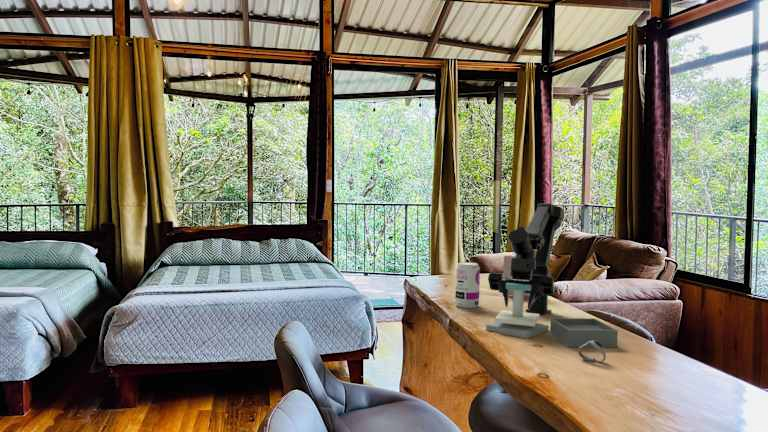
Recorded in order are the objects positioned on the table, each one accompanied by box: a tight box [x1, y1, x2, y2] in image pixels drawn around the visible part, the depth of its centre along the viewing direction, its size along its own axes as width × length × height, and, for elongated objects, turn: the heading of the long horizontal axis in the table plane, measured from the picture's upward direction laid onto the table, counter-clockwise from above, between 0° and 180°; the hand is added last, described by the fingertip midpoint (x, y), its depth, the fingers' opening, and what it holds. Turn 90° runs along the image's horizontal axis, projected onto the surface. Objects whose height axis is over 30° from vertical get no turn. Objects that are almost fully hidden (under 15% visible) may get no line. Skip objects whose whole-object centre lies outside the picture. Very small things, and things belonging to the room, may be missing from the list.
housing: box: [549, 317, 619, 348], centre depth 145 cm, size 13×13×4 cm
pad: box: [485, 321, 550, 339], centre depth 156 cm, size 13×13×2 cm
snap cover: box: [494, 283, 541, 327], centre depth 155 cm, size 11×11×10 cm
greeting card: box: [502, 255, 530, 297], centre depth 208 cm, size 11×7×15 cm, turn 58°
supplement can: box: [454, 261, 481, 309], centre depth 187 cm, size 8×8×15 cm
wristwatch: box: [578, 340, 607, 364], centre depth 128 cm, size 4×6×5 cm, turn 58°
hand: (517, 307), depth 154 cm, fingers closed on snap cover, 6 cm apart
